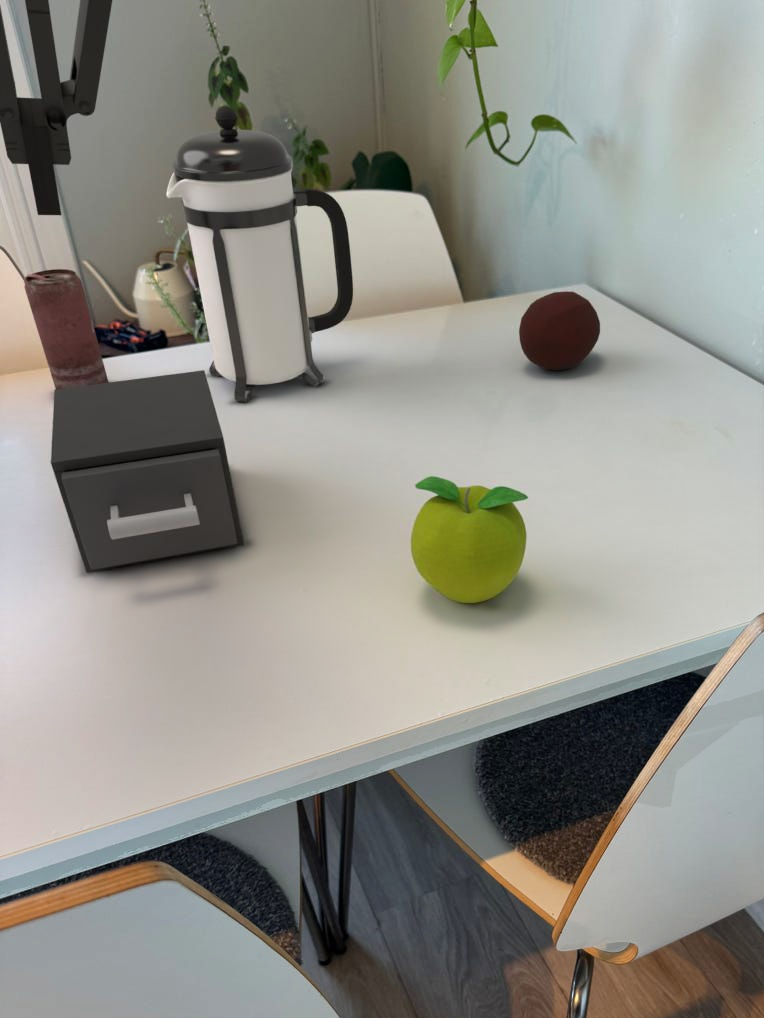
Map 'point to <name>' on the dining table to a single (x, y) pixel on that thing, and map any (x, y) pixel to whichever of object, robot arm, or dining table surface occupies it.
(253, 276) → the coffee press
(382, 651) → the dining table surface
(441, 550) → the fruit
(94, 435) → the small grey cabinet
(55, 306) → the can
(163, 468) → the drawer
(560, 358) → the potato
